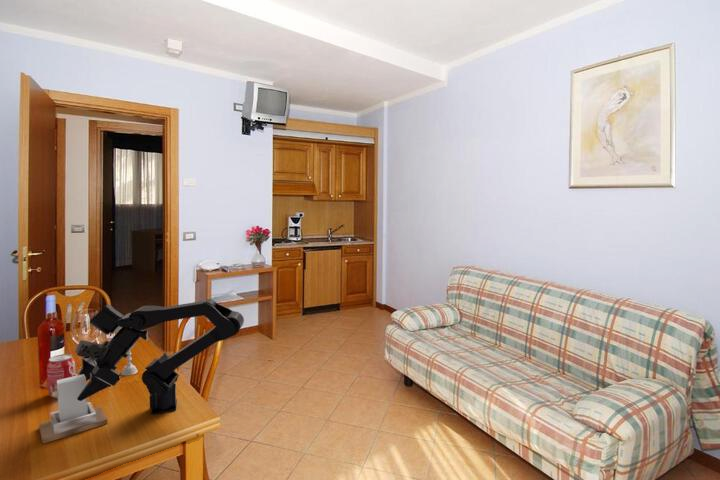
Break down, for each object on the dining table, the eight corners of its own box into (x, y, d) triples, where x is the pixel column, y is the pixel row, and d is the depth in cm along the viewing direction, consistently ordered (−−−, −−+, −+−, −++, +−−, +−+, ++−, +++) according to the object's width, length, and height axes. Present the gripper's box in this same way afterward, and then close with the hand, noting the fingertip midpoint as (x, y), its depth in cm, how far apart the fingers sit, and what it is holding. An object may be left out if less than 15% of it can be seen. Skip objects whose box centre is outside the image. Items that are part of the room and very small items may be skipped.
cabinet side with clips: (100, 410, 116) (100, 398, 116) (107, 423, 110) (106, 411, 109) (39, 428, 107) (38, 415, 106) (42, 443, 100) (41, 430, 100)
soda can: (72, 387, 130) (70, 351, 129) (79, 393, 126) (77, 357, 125) (45, 394, 125) (43, 357, 124) (51, 402, 120) (49, 364, 119)
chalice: (135, 366, 147) (133, 318, 145) (144, 371, 143) (143, 322, 141) (114, 373, 141) (112, 323, 139) (123, 378, 137) (121, 327, 135)
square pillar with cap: (85, 414, 112) (83, 372, 111) (88, 421, 108) (86, 378, 107) (53, 423, 107) (50, 380, 106) (55, 431, 103) (52, 387, 102)
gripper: (89, 321, 117) (43, 368, 110) (103, 338, 103) (52, 392, 97) (121, 341, 123) (79, 387, 116) (138, 359, 109) (92, 412, 103)
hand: (75, 393), depth 108 cm, fingers open, 9 cm apart
